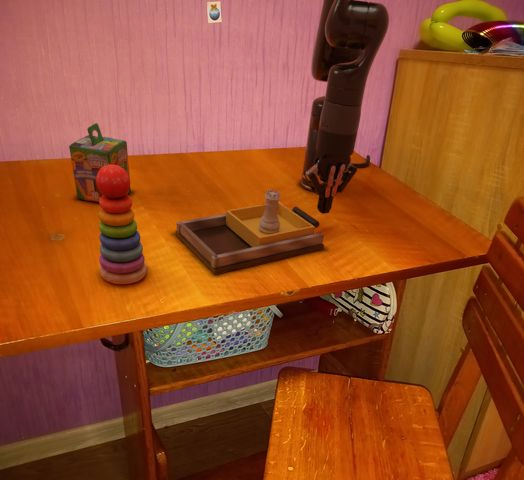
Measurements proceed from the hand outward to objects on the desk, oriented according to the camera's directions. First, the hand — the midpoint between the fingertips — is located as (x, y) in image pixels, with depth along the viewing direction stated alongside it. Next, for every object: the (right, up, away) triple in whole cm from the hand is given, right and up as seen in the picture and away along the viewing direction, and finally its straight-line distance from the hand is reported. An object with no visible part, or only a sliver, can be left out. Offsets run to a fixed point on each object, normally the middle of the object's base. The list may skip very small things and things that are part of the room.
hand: (323, 212), depth 105 cm
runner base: (-16, -8, -6) cm, 19 cm away
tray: (-10, -5, -4) cm, 12 cm away
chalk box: (-49, +5, +5) cm, 49 cm away
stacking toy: (-37, -17, -20) cm, 45 cm away
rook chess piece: (-12, -5, -5) cm, 14 cm away
